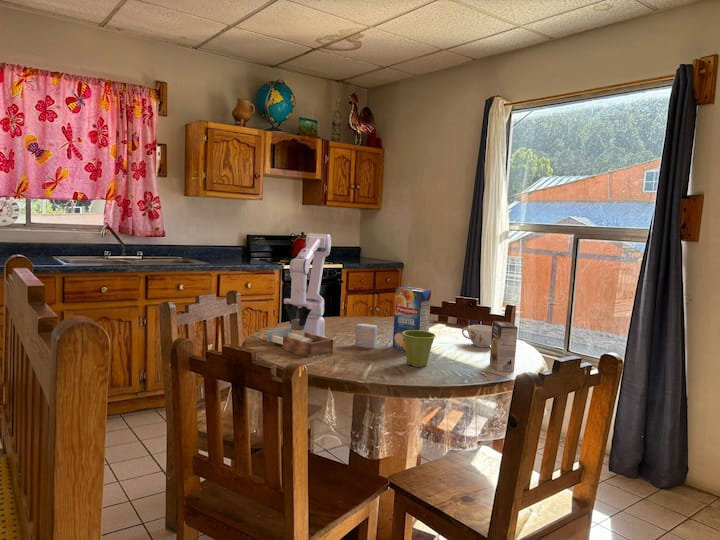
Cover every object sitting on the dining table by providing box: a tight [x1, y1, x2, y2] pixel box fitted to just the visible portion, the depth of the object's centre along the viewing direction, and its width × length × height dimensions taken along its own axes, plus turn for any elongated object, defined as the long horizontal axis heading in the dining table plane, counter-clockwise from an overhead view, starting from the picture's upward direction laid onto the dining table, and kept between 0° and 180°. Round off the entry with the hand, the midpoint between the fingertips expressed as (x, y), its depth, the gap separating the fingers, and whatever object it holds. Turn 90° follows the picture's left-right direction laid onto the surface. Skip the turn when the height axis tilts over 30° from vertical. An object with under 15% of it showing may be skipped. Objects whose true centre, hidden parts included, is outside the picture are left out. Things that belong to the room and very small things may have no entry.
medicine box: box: [354, 323, 378, 349], centre depth 219 cm, size 8×4×9 cm, turn 71°
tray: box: [266, 327, 313, 346], centre depth 214 cm, size 15×12×4 cm
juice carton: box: [392, 286, 432, 351], centre depth 218 cm, size 12×8×24 cm, turn 53°
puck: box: [290, 318, 304, 331], centre depth 212 cm, size 5×5×4 cm
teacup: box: [461, 324, 492, 349], centre depth 230 cm, size 15×12×8 cm
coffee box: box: [489, 320, 518, 372], centre depth 197 cm, size 9×6×16 cm
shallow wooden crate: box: [281, 332, 334, 358], centre depth 208 cm, size 16×12×5 cm
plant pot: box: [403, 330, 437, 368], centre depth 196 cm, size 12×12×11 cm
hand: (297, 324), depth 212 cm, fingers closed on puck, 5 cm apart
